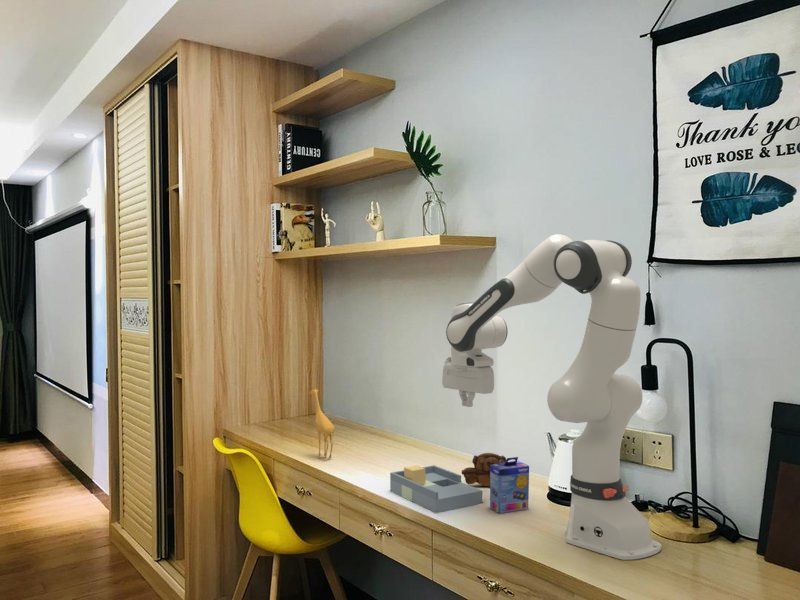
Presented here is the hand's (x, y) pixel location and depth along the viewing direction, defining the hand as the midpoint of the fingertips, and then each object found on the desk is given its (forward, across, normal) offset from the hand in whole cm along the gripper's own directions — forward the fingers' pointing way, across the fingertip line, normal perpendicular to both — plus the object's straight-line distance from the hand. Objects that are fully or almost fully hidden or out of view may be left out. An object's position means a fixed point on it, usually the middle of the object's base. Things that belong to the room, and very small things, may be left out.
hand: (467, 406), depth 193 cm
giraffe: (+25, -67, -15) cm, 73 cm away
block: (+23, -10, -12) cm, 28 cm away
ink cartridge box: (+27, +14, +3) cm, 31 cm away
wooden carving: (+26, -6, +12) cm, 30 cm away
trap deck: (+26, -6, -8) cm, 28 cm away
